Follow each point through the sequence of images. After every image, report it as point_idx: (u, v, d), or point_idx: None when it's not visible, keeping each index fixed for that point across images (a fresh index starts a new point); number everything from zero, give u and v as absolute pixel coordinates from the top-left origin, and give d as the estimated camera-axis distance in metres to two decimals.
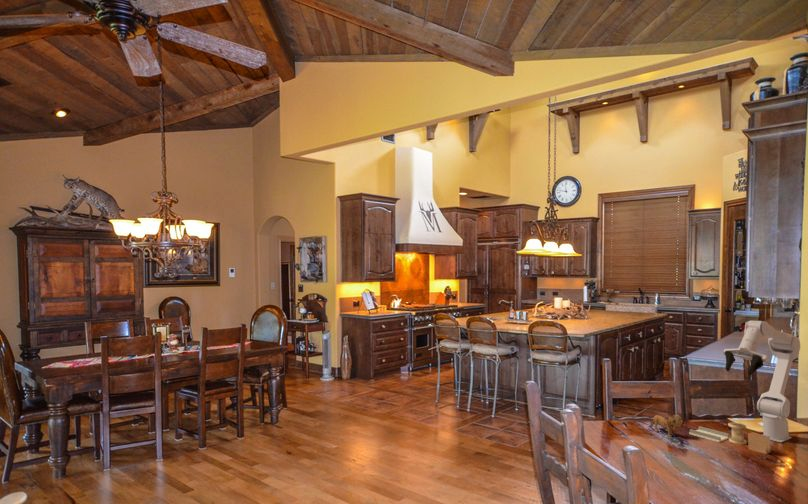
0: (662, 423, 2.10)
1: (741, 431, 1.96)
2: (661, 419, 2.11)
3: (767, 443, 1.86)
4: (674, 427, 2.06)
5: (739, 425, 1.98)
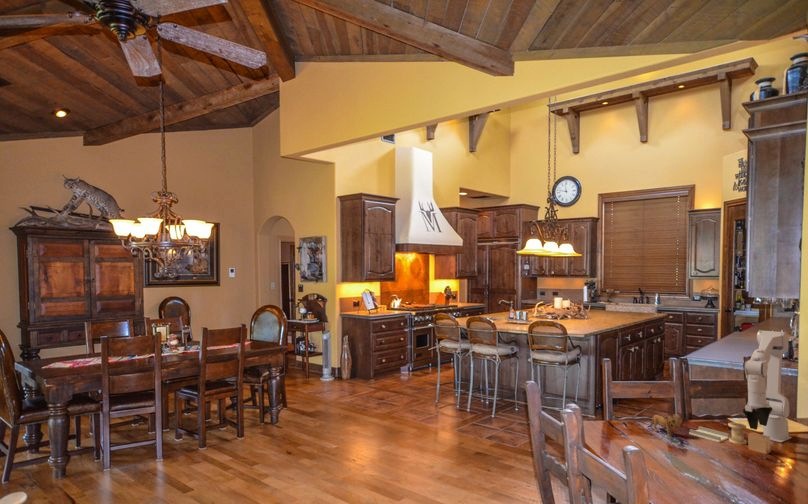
0: (661, 423, 2.10)
1: (741, 431, 1.96)
2: (660, 419, 2.11)
3: (767, 443, 1.86)
4: (673, 427, 2.06)
5: (739, 425, 1.98)
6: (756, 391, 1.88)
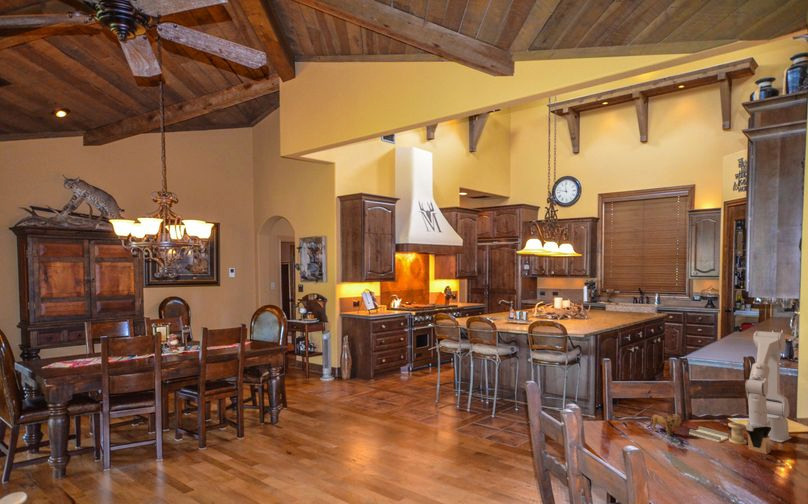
0: (661, 422, 2.11)
1: (741, 431, 1.96)
2: (660, 418, 2.12)
3: (767, 443, 1.86)
4: (673, 426, 2.06)
5: (739, 425, 1.98)
6: (757, 410, 1.87)
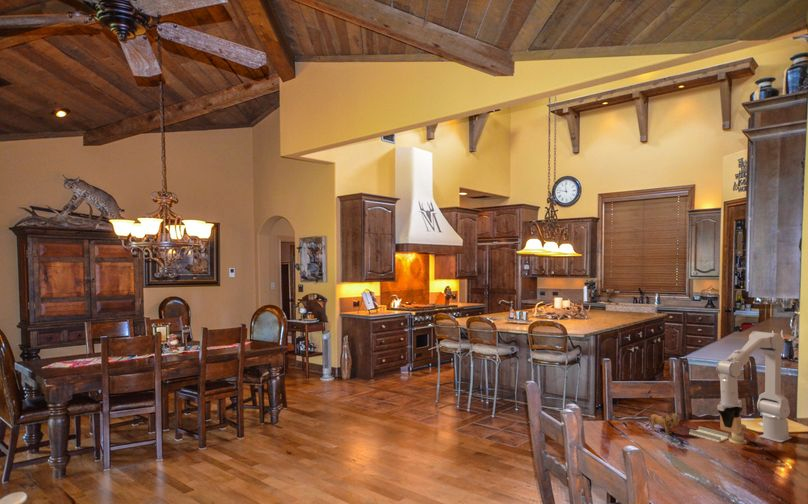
0: (659, 422, 2.11)
1: (741, 431, 1.96)
2: (658, 418, 2.12)
3: (738, 423, 1.90)
4: (672, 426, 2.07)
5: None
6: (725, 390, 1.91)
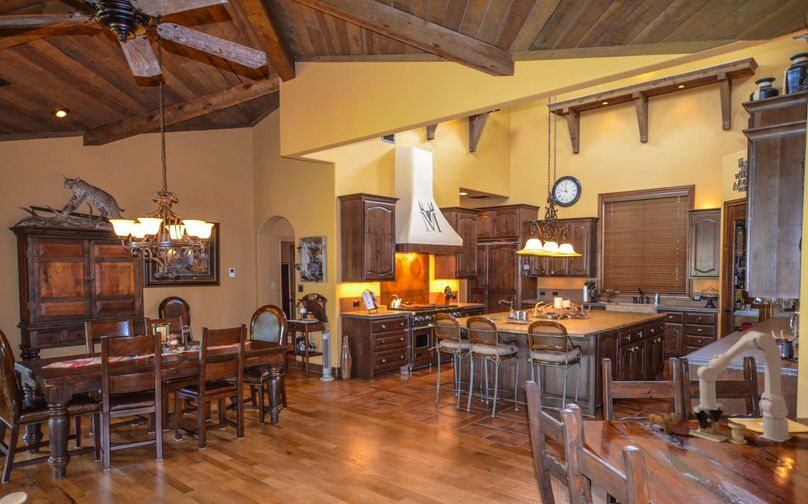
0: (658, 421, 2.12)
1: (741, 431, 1.96)
2: (657, 417, 2.13)
3: (715, 427, 2.03)
4: (670, 425, 2.08)
5: (739, 425, 1.98)
6: (701, 393, 2.06)
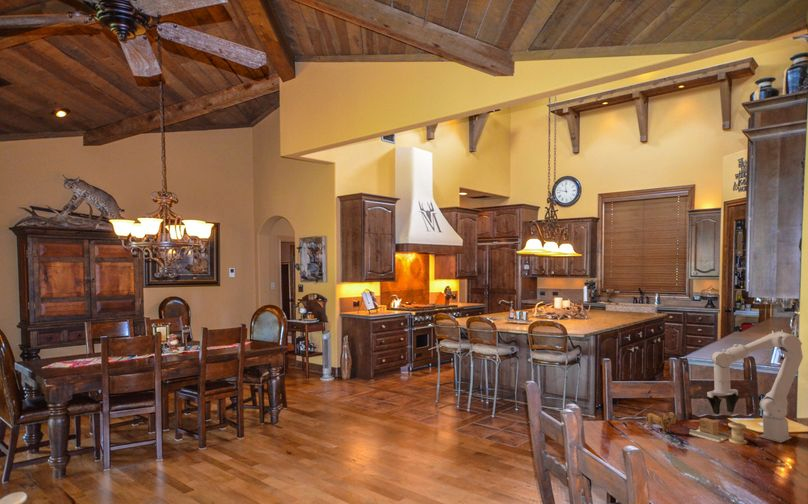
0: (656, 421, 2.13)
1: (741, 431, 1.96)
2: (655, 417, 2.14)
3: (715, 427, 2.03)
4: (669, 424, 2.09)
5: (739, 425, 1.98)
6: (715, 379, 2.07)
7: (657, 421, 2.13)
